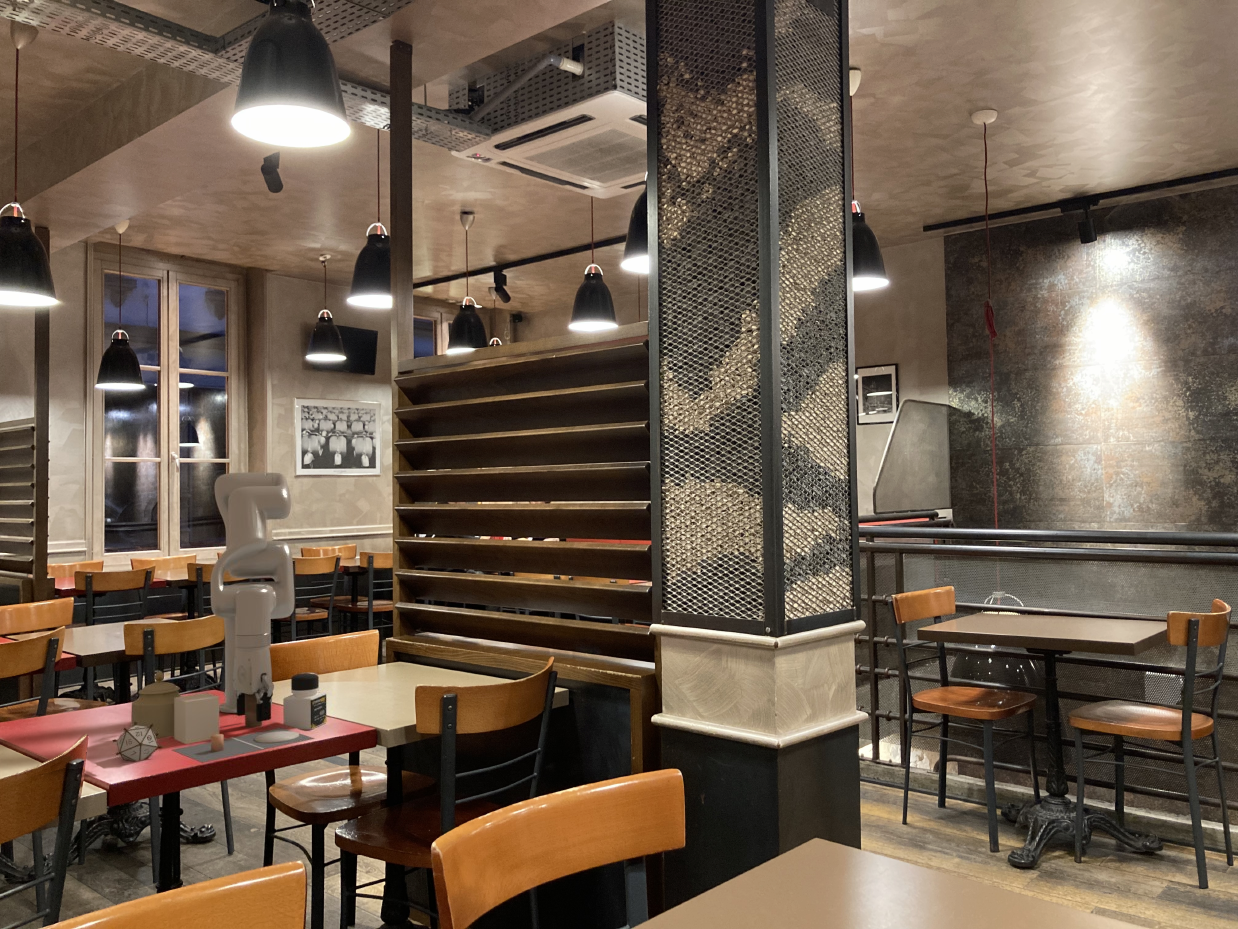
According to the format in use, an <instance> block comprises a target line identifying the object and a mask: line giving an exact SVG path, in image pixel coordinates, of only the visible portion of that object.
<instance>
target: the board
mask: <svg viewBox="0 0 1238 929" xmlns="http://www.w3.org/2000/svg"><path fill="white" fill-rule="evenodd" d="M314 739H316V738H315V737H311V736H309V735H305V734H301V733H299V732H297V731H293V730H290V729H286V728H283V727H280V728H279V727H278V728H274V729H273V728H272V729H269V730H267V729H266V730H263V731H258V732H253V733H248V734H244V735H238V736H234V737H233V736H231V737H229V738H224V734H222V733H219V734H215V735H212V736H211V739H210V741H209V742H204V743H198V744H193V745H188V746H183V747H179V748H173V749H172V751H173V752H175V753H178V754H180V755H182V756H184V757H187V758H190V759H192V760H195V761H197V762H200V763H209V762H213V761H217V760H221V759H226V758H227V759H228V758H230V757H231V758H232V757H235V756H240V755H244V754H250V753H255V752H260V751H265V750H269V749H274V748H277V747H282V746H287V745H292V744H296V743H300V742H305V741H311V740H314Z"/></svg>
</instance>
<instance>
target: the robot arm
mask: <svg viewBox="0 0 1238 929" xmlns="http://www.w3.org/2000/svg"><path fill="white" fill-rule="evenodd" d="M214 495H215V501H216V505H217V507H218V511H219V513H220V515H221V517H222V520H223V523H224V526H225V548H226V549H225V551H224V552H222V553H221V555H219V556H220V557H218V559H217V560H216V562H215V564H214V566H213V568H212V571H211V575H210V605H211V606H210V607H211V608H210V609H211V611H212V613H213V615H214V616H215V617H218V618H220V619H223V623H224V643H225V644H224V661H225V663H224V664H225V666H224V670H225V673H224V676H225V678H224V680H225V681H224V682H225V684H224V688H225V691H224V693H223V695H224V697H225V699H224V700H225V701H224V702H223V703H219V712H222V713H225V714H227V713H228V714H236V716H238V717H242V716H245V694H249V695H251V694H254V692H255V695H256V698H257V701H258V703H257V704H256V721H258V722H261V721H262V722H264V721H269V720H271V719H272V706H273V696H274V693H273V692H274V689H275V684H274V683H273V680H272V676H273V674H272V662H271V660H272V659H271V653H270V652H271V650H270V648H271V647H272V644H271V642H272V641H271V640H272V637H271V636H272V634H271V633H272V631H271V627H272V626H271V622H272V621H271V619H272V620H274V619H284V618H289V617H290V616H291V615H292V613H293V612H294V610H295V585H294V583H295V582H294V580H295V579H294V564H293V563H294V561H293V554H292V549H291V547H290V545H289V544H288V542H286V541H282V540H268V538H267V535H268V534H267V520H270V521H271V520H284V519H287V518H288V517H289V516H290V513H291V508H292V507H291V506H292V500H291V499H292V498H291V493H290V489H289V485H288V482H287V478H286V477H285V475H284V474H282V473H279V472H231V473H225V474H221V475H220V476H218V477H217V478H216V479H215V482H214ZM226 572H228V574H229V575H230V577H232V578H235V579H262V578H264V579H265V578H271V579H273V580H274V581H260V582H259V581H254V582H253V581H252V582H239V583H233V584H230V585H224V576H225V574H226ZM261 694H262V697H261Z"/></svg>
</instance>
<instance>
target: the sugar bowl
mask: <svg viewBox="0 0 1238 929" xmlns="http://www.w3.org/2000/svg"><path fill="white" fill-rule="evenodd" d="M164 677H165V675H164V673H163V671H161V670H158V671H157V672H156V673H155V674H154V680H155V682H153V683H151V684H148V685H145V686H144V687H143V688H142V689H140V690H139V691H138V694H139V697H138V698H137V699H135V700H134V701H132V703H131V712H130V713H131V714H130V716H131V718H130V719H131V722H130V723H131V727H133V726H135V725H134V723H135V721H136V722H137V725H140V726H148V727H150V725H151V724H153V727H151V728H152V730H153V732H154V734H156V733H158V736H156V739H157V740H159V739H165V738H169V737H174V698H176V697H183V696H184V695H181V694H180V693H179V690H180V689H181V688H180V687H179V686H177V685H176V684H174V683H171V682H167V681H166V682H165V681H163V680H164ZM131 727H130V728H131Z"/></svg>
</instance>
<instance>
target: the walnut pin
mask: <svg viewBox="0 0 1238 929" xmlns="http://www.w3.org/2000/svg"><path fill="white" fill-rule="evenodd" d="M261 697H262V694H261ZM257 703H258V701H257V698H256V695H255V692H254V694H251V695H249V694H245V715H244V725H245V728H248V729H249V728H250V729H251V728H252V729H253V728H260V727H262V726H263V721H261V722H258V721H256V704H257Z"/></svg>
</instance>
